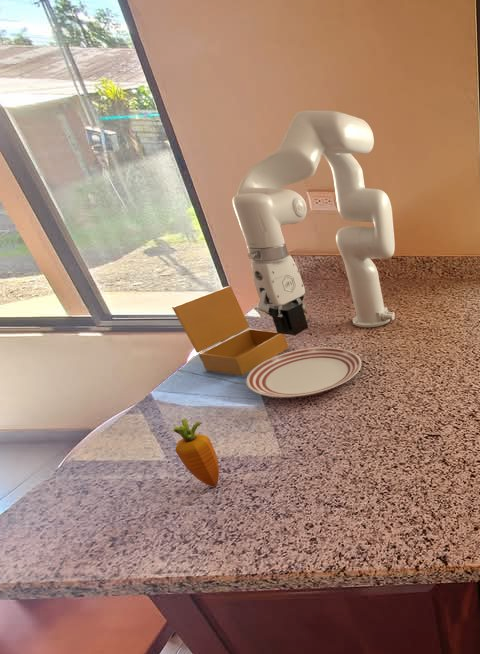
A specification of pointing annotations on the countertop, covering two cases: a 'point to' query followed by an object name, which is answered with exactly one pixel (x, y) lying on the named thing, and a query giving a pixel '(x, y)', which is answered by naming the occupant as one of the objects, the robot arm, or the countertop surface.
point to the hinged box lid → (211, 318)
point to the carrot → (197, 454)
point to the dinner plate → (303, 372)
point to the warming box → (243, 351)
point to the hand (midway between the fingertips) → (291, 325)
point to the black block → (293, 318)
